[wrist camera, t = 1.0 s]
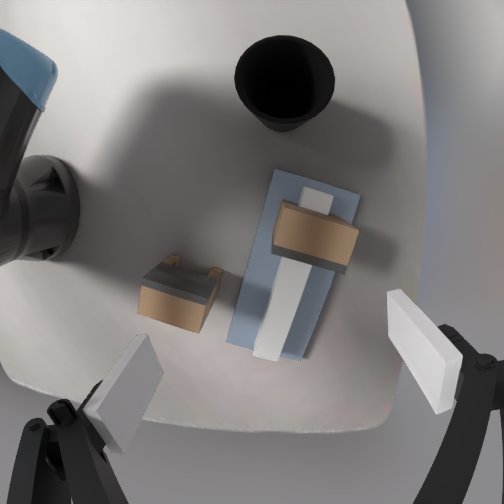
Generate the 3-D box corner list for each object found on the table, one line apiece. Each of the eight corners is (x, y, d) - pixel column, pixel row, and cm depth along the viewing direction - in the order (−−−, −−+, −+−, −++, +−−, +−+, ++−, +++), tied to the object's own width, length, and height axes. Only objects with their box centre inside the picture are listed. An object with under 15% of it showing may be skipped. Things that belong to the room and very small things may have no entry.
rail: (227, 338, 40) (222, 354, 36) (274, 168, 34) (274, 167, 30) (300, 357, 40) (302, 374, 36) (358, 194, 34) (368, 197, 30)
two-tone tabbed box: (165, 283, 38) (137, 313, 30) (171, 254, 37) (142, 277, 29) (215, 299, 38) (198, 333, 30) (222, 269, 37) (207, 298, 29)
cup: (248, 140, 33) (234, 123, 22) (247, 78, 32) (234, 35, 20) (316, 141, 33) (337, 125, 21) (315, 78, 31) (332, 37, 19)
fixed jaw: (338, 216, 34) (359, 230, 25) (328, 249, 35) (344, 274, 26) (282, 198, 34) (284, 207, 25) (272, 233, 35) (270, 253, 26)
